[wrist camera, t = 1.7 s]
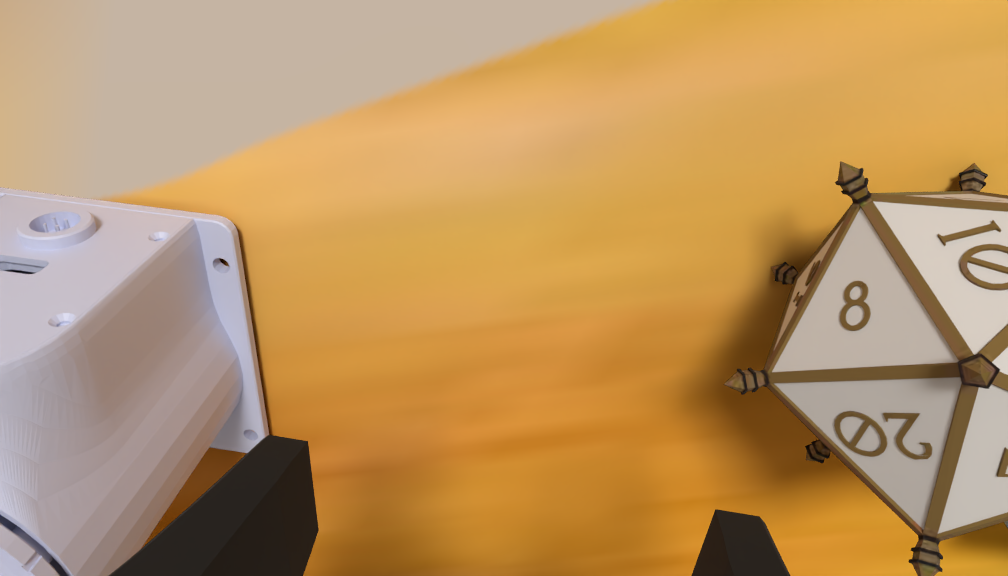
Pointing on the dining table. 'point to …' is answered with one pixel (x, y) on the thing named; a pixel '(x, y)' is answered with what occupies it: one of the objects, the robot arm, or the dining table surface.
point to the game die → (905, 354)
